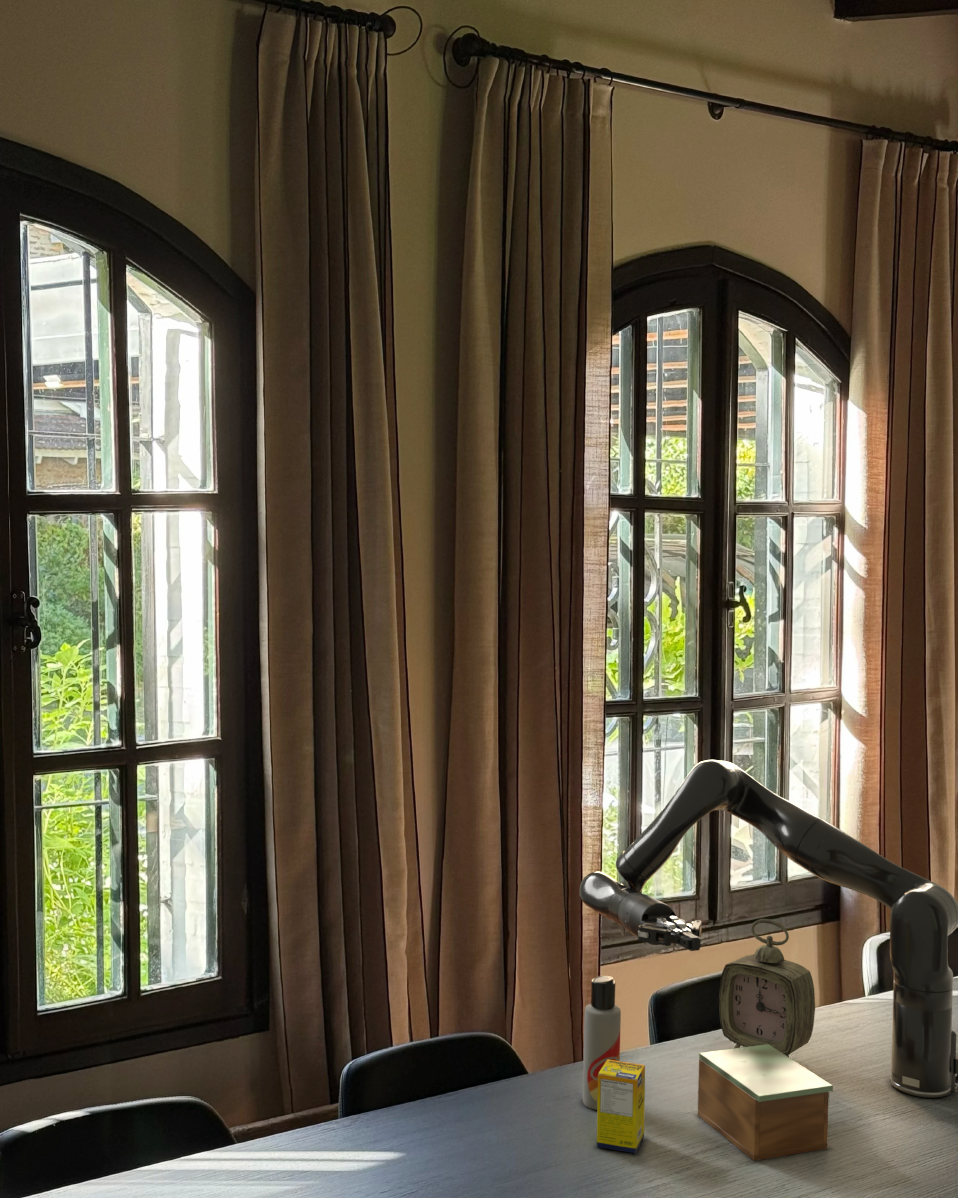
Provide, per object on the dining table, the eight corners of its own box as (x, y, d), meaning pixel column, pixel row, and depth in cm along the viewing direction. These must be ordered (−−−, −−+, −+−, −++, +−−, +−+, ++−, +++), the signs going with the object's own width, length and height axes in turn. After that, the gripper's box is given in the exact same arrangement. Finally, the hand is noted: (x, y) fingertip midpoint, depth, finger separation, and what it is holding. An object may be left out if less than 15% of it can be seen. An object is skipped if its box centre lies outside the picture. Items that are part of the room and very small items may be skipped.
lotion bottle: (617, 1113, 184) (620, 985, 184) (580, 1109, 185) (583, 981, 185) (620, 1098, 189) (623, 973, 189) (584, 1094, 190) (587, 970, 190)
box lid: (832, 1091, 173) (833, 1085, 173) (759, 1102, 168) (759, 1096, 168) (768, 1049, 188) (768, 1044, 188) (698, 1058, 184) (699, 1052, 184)
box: (827, 1149, 173) (829, 1089, 173) (754, 1161, 169) (755, 1100, 169) (766, 1104, 188) (768, 1049, 188) (697, 1115, 184) (698, 1058, 184)
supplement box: (644, 1137, 176) (646, 1064, 176) (636, 1155, 170) (638, 1079, 170) (605, 1130, 178) (606, 1058, 178) (595, 1148, 172) (597, 1073, 172)
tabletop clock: (717, 1059, 206) (720, 916, 206) (742, 1045, 213) (745, 906, 213) (794, 1083, 197) (798, 933, 197) (818, 1067, 203) (821, 922, 203)
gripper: (613, 899, 211) (661, 925, 195) (679, 894, 216) (730, 919, 199) (613, 941, 211) (660, 971, 195) (678, 935, 216) (730, 963, 199)
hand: (696, 944), depth 197 cm, fingers closed
